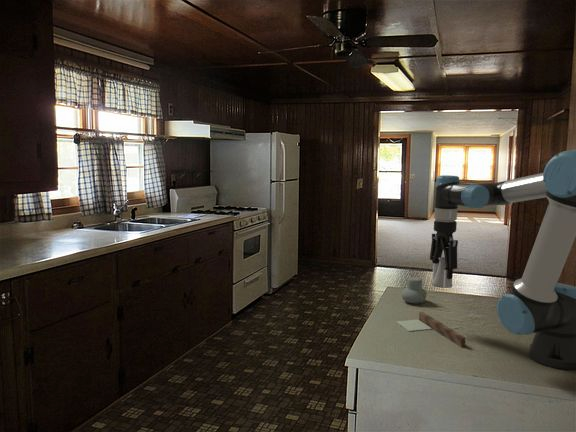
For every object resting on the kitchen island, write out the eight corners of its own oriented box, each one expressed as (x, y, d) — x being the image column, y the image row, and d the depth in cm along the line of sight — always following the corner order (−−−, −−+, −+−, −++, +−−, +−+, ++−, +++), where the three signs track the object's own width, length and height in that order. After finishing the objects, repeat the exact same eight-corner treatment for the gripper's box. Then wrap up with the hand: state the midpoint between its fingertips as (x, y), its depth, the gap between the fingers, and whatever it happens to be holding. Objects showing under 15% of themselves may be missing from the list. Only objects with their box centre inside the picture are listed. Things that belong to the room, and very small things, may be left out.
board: (431, 329, 175) (431, 328, 175) (408, 331, 173) (408, 330, 173) (417, 320, 185) (417, 319, 185) (395, 322, 183) (395, 321, 183)
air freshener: (419, 306, 201) (420, 283, 200) (400, 303, 206) (400, 280, 204) (427, 300, 211) (428, 277, 209) (408, 297, 215) (409, 274, 214)
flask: (453, 289, 171) (455, 261, 169) (431, 287, 172) (433, 259, 171) (451, 283, 178) (453, 256, 176) (430, 282, 179) (432, 255, 178)
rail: (465, 346, 160) (465, 337, 159) (460, 347, 159) (461, 338, 159) (422, 319, 186) (422, 312, 185) (419, 320, 185) (419, 312, 185)
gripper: (471, 224, 163) (467, 292, 166) (440, 215, 182) (437, 276, 185) (450, 225, 161) (446, 293, 164) (421, 216, 180) (418, 277, 184)
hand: (441, 284), depth 175 cm, fingers closed on flask, 7 cm apart
